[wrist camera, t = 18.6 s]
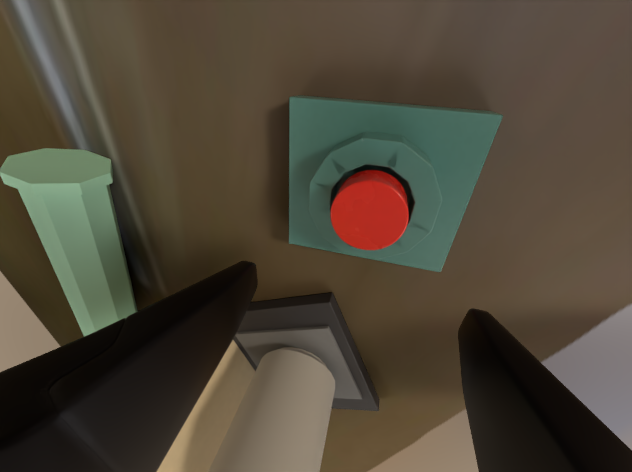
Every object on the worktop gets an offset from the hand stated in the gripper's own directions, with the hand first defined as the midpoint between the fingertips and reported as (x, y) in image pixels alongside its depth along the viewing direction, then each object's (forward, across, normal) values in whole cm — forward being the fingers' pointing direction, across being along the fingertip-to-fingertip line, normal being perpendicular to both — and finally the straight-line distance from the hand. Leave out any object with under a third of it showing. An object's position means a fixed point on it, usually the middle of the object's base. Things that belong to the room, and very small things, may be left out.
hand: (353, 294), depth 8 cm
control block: (+10, 0, 0) cm, 10 cm away
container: (+10, +24, +13) cm, 29 cm away
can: (+9, +4, +19) cm, 21 cm away
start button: (+7, 0, 0) cm, 7 cm away
